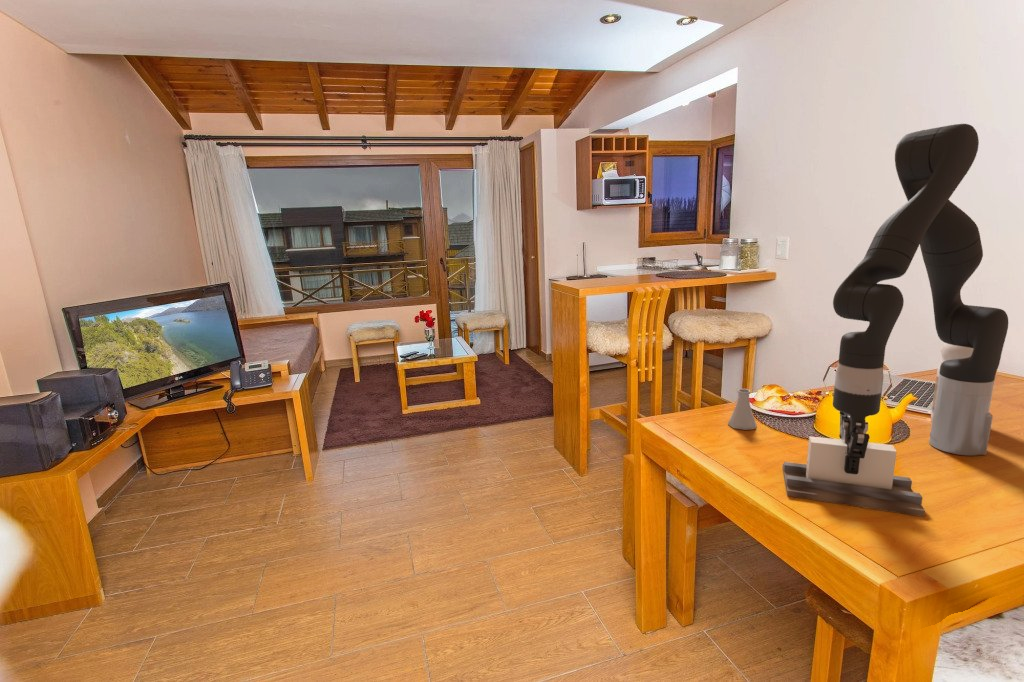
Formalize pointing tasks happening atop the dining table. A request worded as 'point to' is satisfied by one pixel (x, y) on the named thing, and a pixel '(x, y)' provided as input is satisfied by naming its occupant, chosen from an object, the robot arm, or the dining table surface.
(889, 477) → the panel
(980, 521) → the dining table surface
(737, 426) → the flask
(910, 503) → the track
